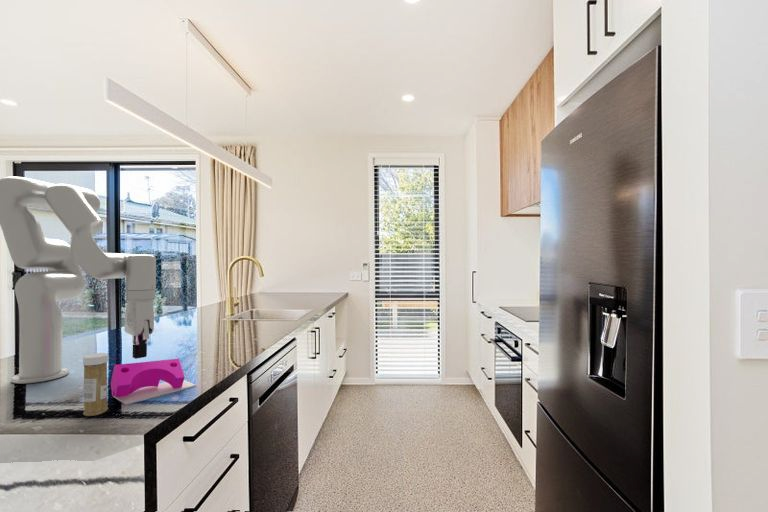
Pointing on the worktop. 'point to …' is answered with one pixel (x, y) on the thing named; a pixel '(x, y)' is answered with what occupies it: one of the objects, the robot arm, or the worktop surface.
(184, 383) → the mat
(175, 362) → the toy block
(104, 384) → the sprinkles bottle
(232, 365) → the worktop surface
